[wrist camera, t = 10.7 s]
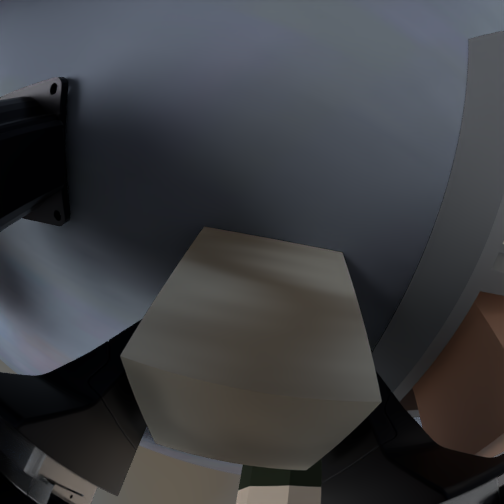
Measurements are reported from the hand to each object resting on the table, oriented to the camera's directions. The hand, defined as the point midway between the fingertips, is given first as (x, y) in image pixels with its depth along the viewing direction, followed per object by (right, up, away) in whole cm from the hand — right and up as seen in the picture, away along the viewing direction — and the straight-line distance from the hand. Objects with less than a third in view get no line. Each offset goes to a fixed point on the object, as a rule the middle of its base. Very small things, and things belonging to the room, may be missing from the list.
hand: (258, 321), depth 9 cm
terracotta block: (+10, -1, 0) cm, 10 cm away
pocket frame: (+11, +2, -1) cm, 11 cm away
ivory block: (0, +1, +1) cm, 2 cm away
